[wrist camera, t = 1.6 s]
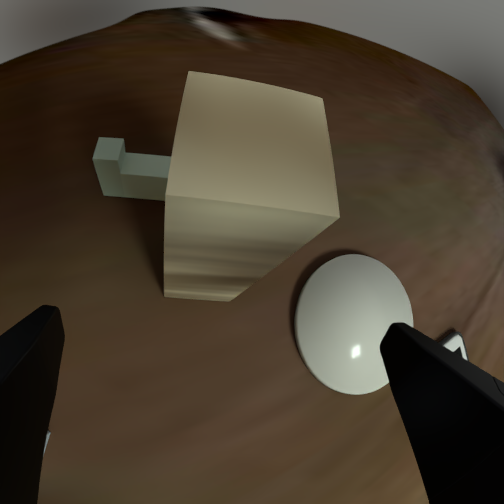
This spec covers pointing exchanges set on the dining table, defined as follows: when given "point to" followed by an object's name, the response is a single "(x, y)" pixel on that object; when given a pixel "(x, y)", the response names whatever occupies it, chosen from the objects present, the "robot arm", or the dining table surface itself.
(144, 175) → the fence
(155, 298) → the dining table surface
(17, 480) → the robot arm
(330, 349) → the coaster
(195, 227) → the beech block
